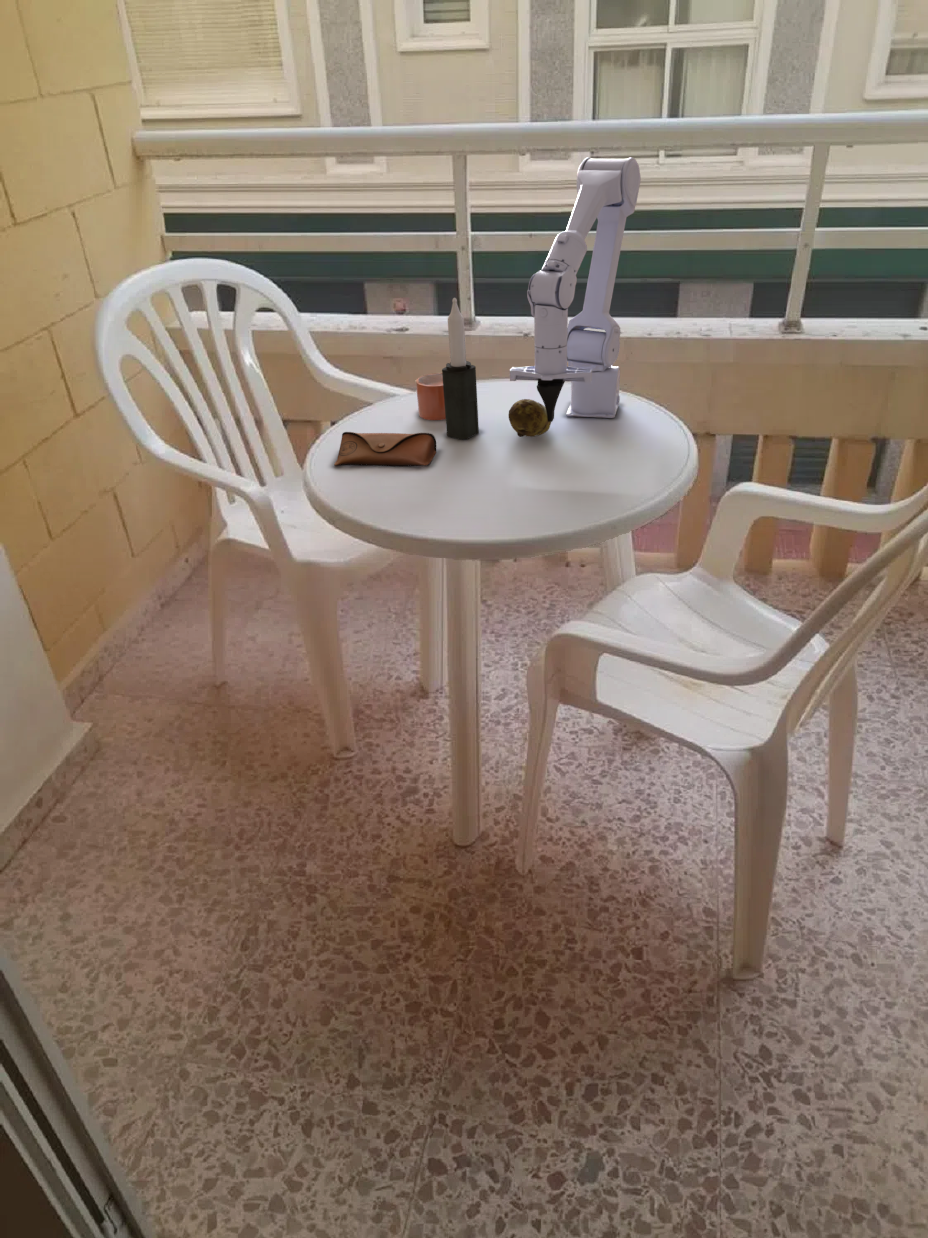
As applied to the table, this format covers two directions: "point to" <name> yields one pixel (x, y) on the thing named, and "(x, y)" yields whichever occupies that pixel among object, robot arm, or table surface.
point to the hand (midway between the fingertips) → (550, 419)
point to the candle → (459, 383)
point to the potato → (528, 418)
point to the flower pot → (431, 396)
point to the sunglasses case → (386, 449)
